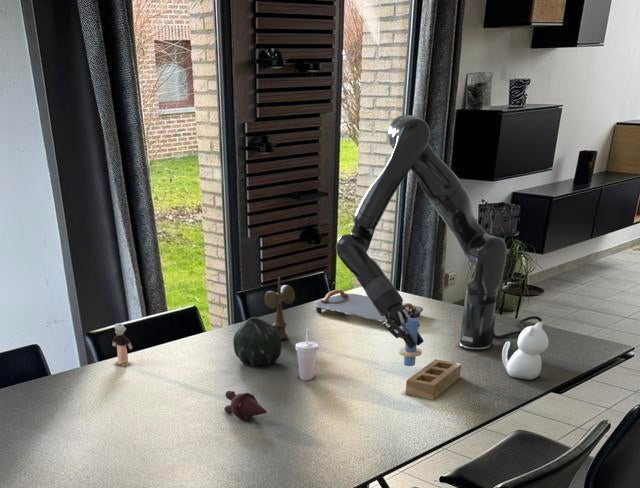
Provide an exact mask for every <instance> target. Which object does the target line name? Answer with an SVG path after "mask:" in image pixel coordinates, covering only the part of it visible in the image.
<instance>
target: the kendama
mask: <svg viewBox="0 0 640 488" xmlns="http://www.w3.org/2000/svg"><path fill="white" fill-rule="evenodd" d="M295 298H296V294H295V290H294V288H293V287H292V286H291V285H289V284H284V285H281V277H280V276H278V278H277V292H275V291H273V290H268V291H267V292H266V293H265V294H264V304H265V305H266V307H267V308H268V309H276V314H275V318H274V319H275V320H274V322H273V324H272V326H274V327H275V328H276V329H277V330H278V332H279V335H280V338H281V341H282V340H286V339H287V338H289V337H288V336H289V335H288V334H287V332H286V326H287V322H286V321H285V319H284V313H283V305H282V303H284V304H287V305H289V304H292V303H293V302H294V301H295Z"/></svg>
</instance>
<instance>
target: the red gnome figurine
mask: <svg viewBox="0 0 640 488" xmlns="http://www.w3.org/2000/svg"><path fill="white" fill-rule="evenodd" d="M224 396H225V398H226V399H227V400H229V401H230V404H227V405H225V407H224V409H223V410H224V412H225V413H227V414H234V416H235V417H237V418H238V419H239V420H242V421H248V420H249V419H252V418H253V417H254V416H259V415H263V414H267V413H268V410H266V408H264V407H263V406H262V405H261V404H260V403H259V402H258V400H257V399H256V397H255V395H254V394H252V393H250V392H243V393H237V394H236V392H235V391H234V390H227V391H225V395H224Z"/></svg>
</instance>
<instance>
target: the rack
mask: <svg viewBox="0 0 640 488" xmlns="http://www.w3.org/2000/svg"><path fill="white" fill-rule="evenodd" d="M461 372H462V363H460V362H453V361H447V360H441V359H436V358H435V359H433V360H432V361H431V362H429V363H428V364H427V365H426V366H424V367H423V368H421V369H420V370H419V371H417V372H416V373H414V374H413V375H412V376H410V377H408V379H406V384H405V395H408V396H412V397H418V398H423V399H427V400H432V401H433V400H434V399H436V398H437V397H438V396H439V395H441V393H443V392H444V391H445V390H447V389H448V388H449V387H450V386H452V384H454V383H455V382H456V381H457V380H459V379H460V377H461Z"/></svg>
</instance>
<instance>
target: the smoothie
mask: <svg viewBox="0 0 640 488" xmlns="http://www.w3.org/2000/svg"><path fill="white" fill-rule="evenodd" d="M318 349H319V344H318V343H317V342H315V341H309V328H305V341H300V342H297V343H295V350H296V355H297V363H298V372H299V379H301V380H303V381H310V380H313V379H314V374H315V365H316V359H317V351H318Z"/></svg>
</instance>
